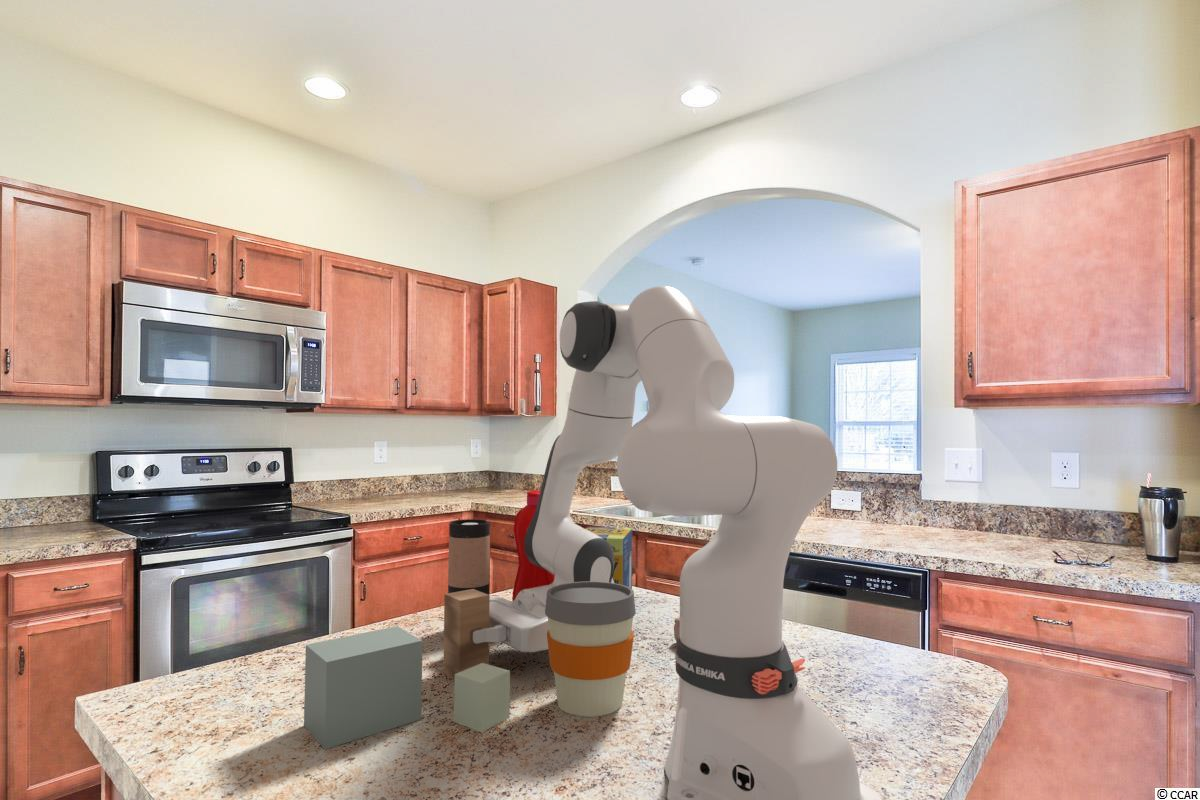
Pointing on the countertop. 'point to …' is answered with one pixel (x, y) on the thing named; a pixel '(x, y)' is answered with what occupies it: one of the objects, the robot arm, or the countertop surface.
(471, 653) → the pillar
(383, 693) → the base block
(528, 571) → the water bottle
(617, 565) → the protein box
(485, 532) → the travel mug
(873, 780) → the countertop surface
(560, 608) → the reusable coffee cup
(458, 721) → the cube
